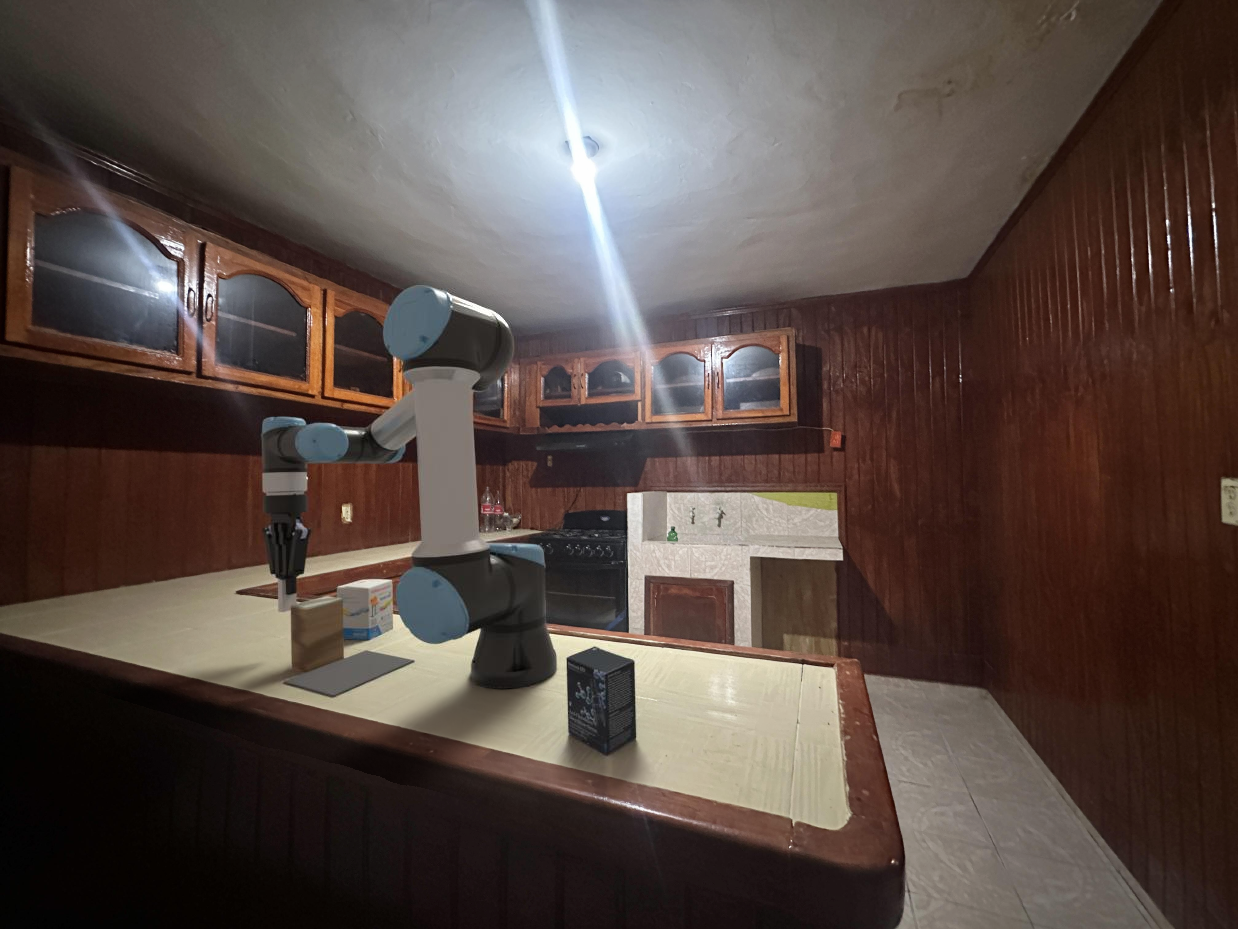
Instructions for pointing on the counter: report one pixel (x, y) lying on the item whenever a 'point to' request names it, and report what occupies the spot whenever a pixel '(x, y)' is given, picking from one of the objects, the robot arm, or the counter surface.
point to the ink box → (366, 608)
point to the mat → (348, 673)
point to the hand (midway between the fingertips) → (287, 610)
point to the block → (316, 633)
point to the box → (601, 699)
